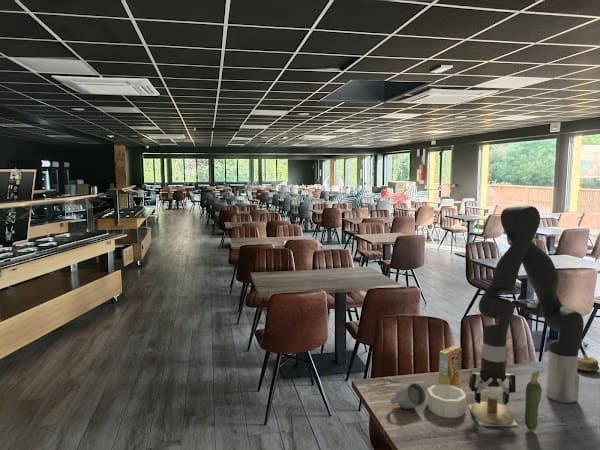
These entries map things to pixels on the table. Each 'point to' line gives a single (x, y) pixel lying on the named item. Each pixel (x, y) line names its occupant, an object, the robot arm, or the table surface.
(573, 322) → the robot arm
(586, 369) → the cake
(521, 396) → the table surface
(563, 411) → the table surface
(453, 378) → the candy box
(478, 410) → the lid
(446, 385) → the bowl
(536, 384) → the vegetable
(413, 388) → the ceramic mug
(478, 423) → the mat
